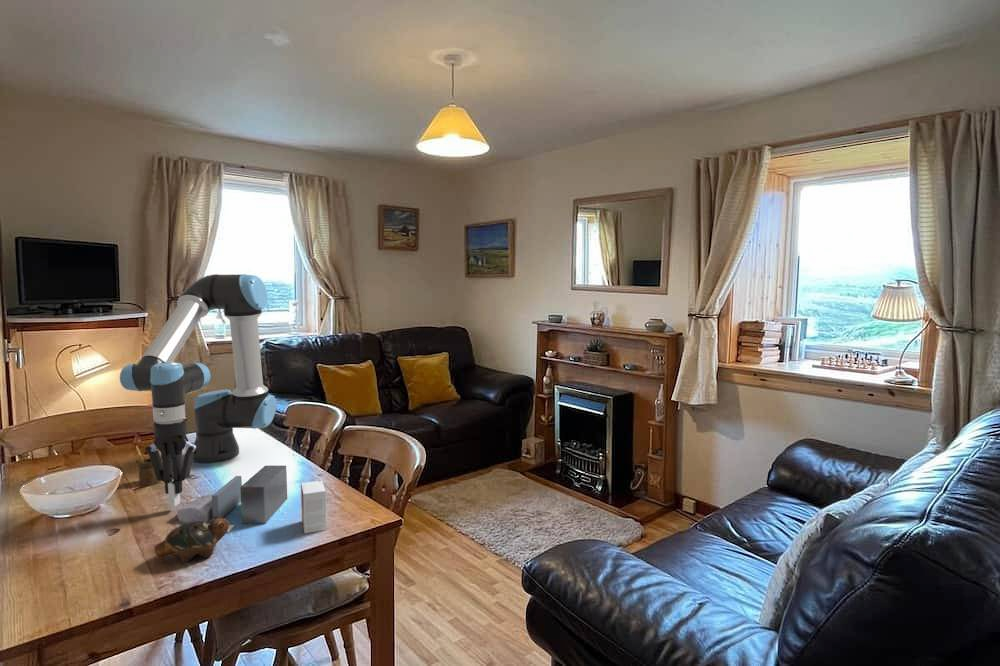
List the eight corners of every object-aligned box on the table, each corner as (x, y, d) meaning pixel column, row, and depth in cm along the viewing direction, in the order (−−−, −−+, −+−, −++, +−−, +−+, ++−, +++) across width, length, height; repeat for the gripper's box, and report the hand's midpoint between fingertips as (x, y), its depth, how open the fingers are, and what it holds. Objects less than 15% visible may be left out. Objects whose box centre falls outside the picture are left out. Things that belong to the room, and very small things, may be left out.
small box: (301, 521, 145) (300, 482, 144) (323, 517, 147) (322, 479, 146) (303, 534, 137) (302, 494, 136) (327, 530, 140) (325, 490, 138)
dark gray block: (266, 498, 159) (265, 465, 158) (287, 498, 159) (286, 465, 158) (241, 523, 143) (240, 487, 142) (265, 523, 143) (263, 486, 142)
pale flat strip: (195, 526, 141) (195, 524, 141) (234, 526, 141) (234, 524, 141) (188, 532, 138) (188, 530, 138) (228, 532, 138) (228, 530, 138)
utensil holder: (159, 484, 169) (157, 446, 168) (135, 487, 167) (133, 448, 165) (164, 477, 174) (162, 441, 173) (141, 480, 172) (138, 443, 171)
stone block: (174, 529, 144) (209, 523, 143) (170, 511, 144) (205, 505, 143) (203, 511, 156) (235, 506, 155) (199, 494, 155) (232, 489, 154)
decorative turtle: (234, 554, 127) (230, 523, 126) (157, 578, 119) (152, 544, 118) (228, 536, 135) (224, 506, 134) (156, 556, 127) (151, 525, 126)
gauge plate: (237, 499, 157) (236, 475, 157) (242, 499, 157) (241, 475, 157) (203, 530, 138) (201, 503, 138) (209, 530, 139) (207, 503, 138)
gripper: (136, 424, 143) (142, 510, 146) (186, 424, 144) (191, 510, 146) (153, 416, 151) (158, 499, 153) (201, 416, 151) (205, 498, 154)
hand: (174, 504), depth 150 cm, fingers closed
